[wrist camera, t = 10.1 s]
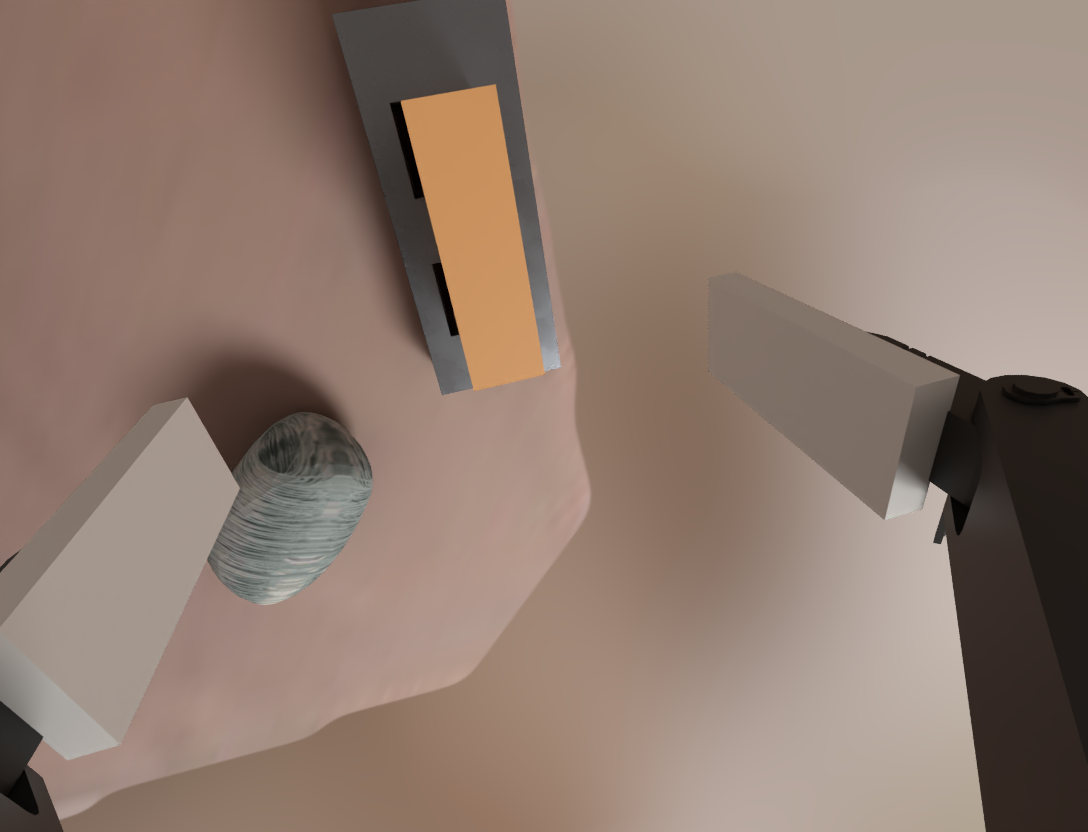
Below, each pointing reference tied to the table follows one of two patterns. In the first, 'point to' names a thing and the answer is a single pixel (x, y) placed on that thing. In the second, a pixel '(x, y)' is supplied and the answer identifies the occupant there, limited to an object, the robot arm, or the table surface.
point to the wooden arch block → (477, 231)
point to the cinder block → (379, 83)
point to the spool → (291, 508)
